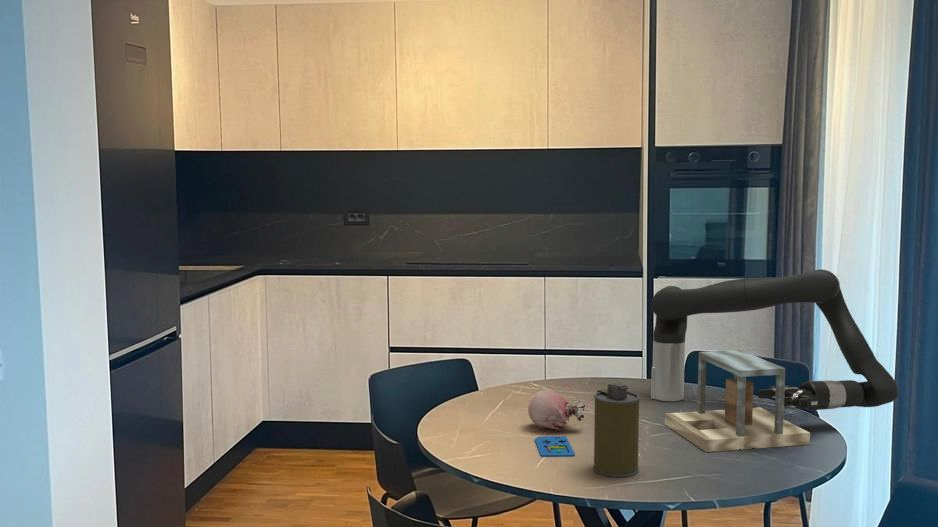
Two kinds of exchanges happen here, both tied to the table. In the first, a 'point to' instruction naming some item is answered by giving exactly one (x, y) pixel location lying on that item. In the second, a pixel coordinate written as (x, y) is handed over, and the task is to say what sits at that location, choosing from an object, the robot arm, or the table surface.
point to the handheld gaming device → (554, 446)
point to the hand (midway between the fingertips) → (767, 398)
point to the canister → (616, 431)
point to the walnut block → (732, 401)
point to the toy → (552, 410)
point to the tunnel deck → (737, 410)
